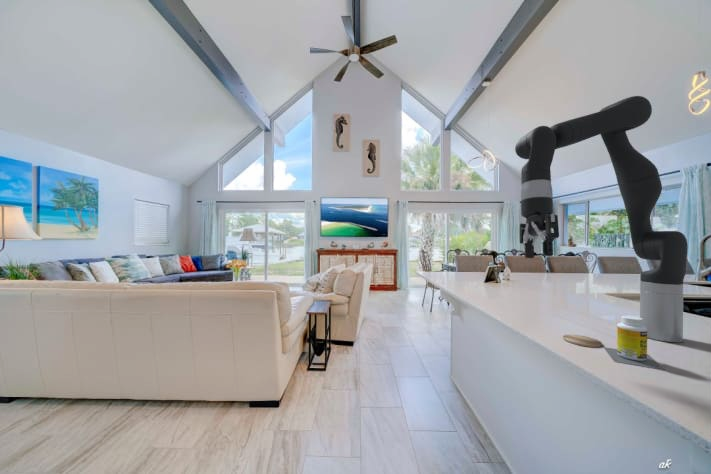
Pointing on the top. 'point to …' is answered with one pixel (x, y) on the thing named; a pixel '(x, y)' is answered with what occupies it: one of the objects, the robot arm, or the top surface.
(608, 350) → the gray board
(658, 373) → the top surface
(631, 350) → the supplement bottle
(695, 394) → the top surface
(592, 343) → the cork coaster
